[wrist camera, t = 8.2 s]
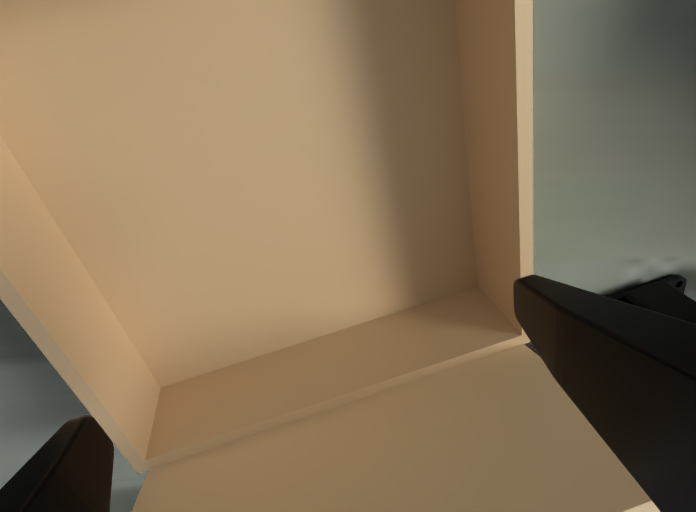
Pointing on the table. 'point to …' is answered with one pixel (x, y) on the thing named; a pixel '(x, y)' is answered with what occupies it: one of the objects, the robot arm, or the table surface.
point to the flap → (416, 453)
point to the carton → (261, 202)
